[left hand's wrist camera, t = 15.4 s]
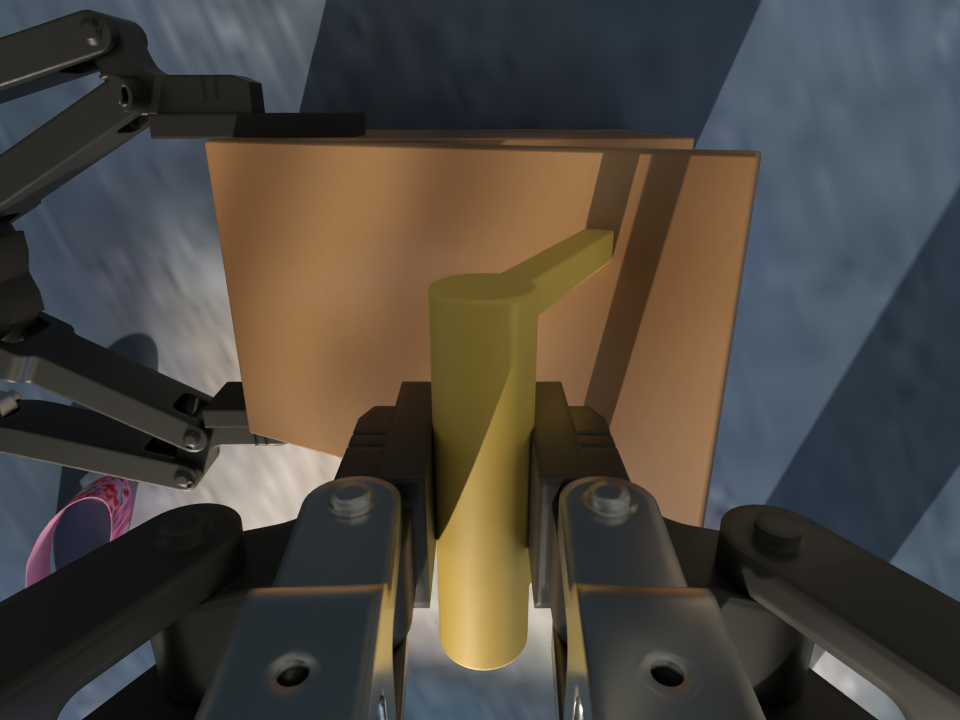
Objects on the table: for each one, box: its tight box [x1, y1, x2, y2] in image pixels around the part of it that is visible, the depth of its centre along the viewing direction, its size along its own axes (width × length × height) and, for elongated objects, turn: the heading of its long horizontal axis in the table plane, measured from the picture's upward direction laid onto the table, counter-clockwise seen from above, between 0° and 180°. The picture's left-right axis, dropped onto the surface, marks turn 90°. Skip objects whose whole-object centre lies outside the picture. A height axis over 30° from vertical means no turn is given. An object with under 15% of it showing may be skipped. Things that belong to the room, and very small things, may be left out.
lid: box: [205, 139, 761, 670], centre depth 15 cm, size 15×10×8 cm, turn 90°
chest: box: [225, 129, 694, 149], centre depth 26 cm, size 15×10×9 cm, turn 90°
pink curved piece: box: [25, 476, 132, 588], centre depth 35 cm, size 11×4×2 cm, turn 157°
